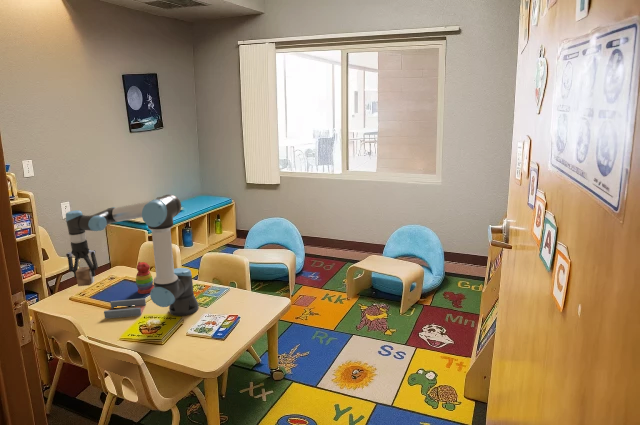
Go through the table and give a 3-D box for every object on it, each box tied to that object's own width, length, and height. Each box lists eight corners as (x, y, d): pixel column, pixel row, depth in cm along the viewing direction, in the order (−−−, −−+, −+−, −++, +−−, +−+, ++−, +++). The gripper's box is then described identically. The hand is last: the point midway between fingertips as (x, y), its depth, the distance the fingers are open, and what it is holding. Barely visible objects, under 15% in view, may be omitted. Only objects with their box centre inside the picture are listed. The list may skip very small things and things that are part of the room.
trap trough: (146, 304, 255) (145, 298, 254) (140, 315, 243) (139, 308, 242) (112, 307, 253) (110, 301, 252) (105, 318, 241) (103, 311, 240)
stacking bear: (158, 290, 274) (155, 262, 269) (142, 295, 267) (138, 267, 262) (150, 285, 281) (146, 257, 276) (134, 290, 274) (129, 262, 269)
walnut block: (94, 280, 244) (91, 266, 242) (90, 285, 238) (87, 270, 236) (82, 281, 243) (79, 267, 241) (78, 286, 238) (75, 271, 236)
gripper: (100, 237, 240) (107, 278, 246) (61, 239, 237) (69, 281, 244) (95, 241, 233) (103, 284, 239) (55, 244, 230) (64, 287, 236)
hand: (86, 282), depth 241 cm, fingers closed on walnut block, 6 cm apart
